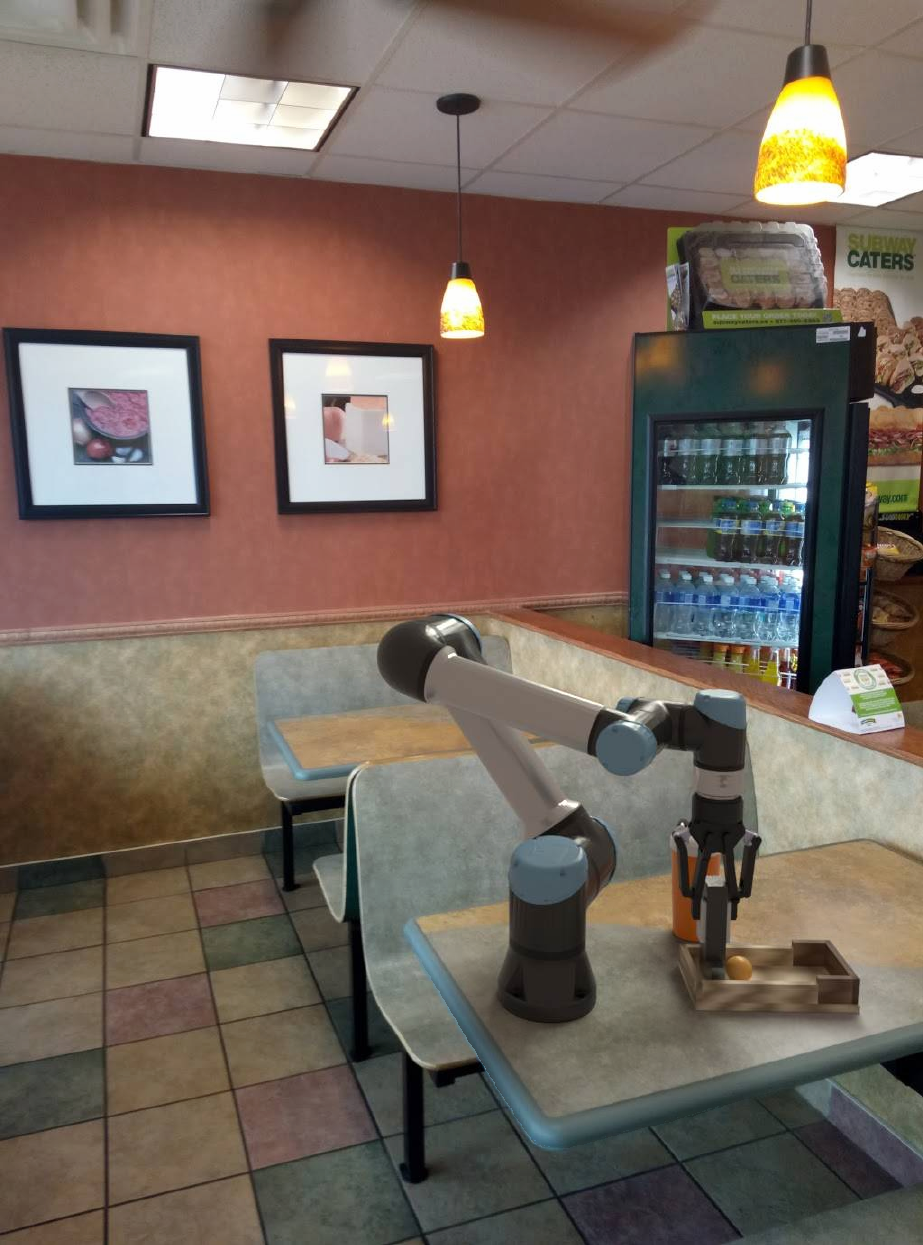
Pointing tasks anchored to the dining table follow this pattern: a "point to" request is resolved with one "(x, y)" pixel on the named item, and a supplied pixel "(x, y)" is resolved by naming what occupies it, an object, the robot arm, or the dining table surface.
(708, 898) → the block
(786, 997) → the tray
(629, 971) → the dining table surface
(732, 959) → the ball
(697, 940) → the shaker bottle
